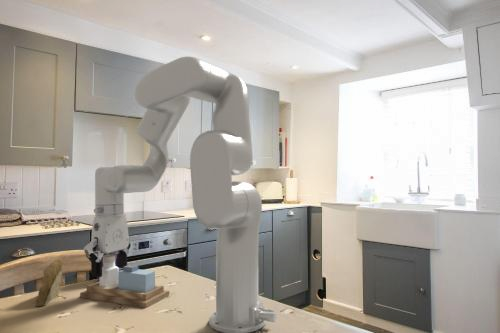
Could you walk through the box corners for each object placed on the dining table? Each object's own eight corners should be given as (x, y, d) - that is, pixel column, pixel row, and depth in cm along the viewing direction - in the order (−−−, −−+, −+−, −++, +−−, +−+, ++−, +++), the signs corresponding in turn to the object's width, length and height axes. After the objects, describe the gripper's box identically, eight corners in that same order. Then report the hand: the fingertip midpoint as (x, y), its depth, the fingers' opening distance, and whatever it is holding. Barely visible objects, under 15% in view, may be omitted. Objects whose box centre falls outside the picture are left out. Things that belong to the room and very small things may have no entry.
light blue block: (155, 293, 98) (155, 266, 98) (145, 298, 94) (145, 270, 94) (128, 289, 101) (128, 263, 101) (118, 293, 98) (118, 267, 98)
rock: (49, 300, 90) (78, 283, 99) (29, 272, 91) (61, 258, 100) (25, 321, 93) (56, 302, 103) (6, 294, 94) (39, 278, 103)
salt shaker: (98, 290, 101) (98, 256, 101) (111, 286, 104) (111, 253, 104) (106, 293, 98) (106, 257, 99) (119, 289, 102) (119, 255, 102)
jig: (169, 295, 100) (169, 285, 100) (146, 307, 90) (146, 296, 91) (107, 286, 108) (107, 277, 108) (80, 297, 99) (80, 286, 99)
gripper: (96, 214, 92) (96, 281, 92) (140, 208, 108) (141, 265, 108) (74, 213, 95) (74, 279, 95) (120, 208, 111) (121, 264, 111)
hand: (110, 271), depth 101 cm, fingers open, 9 cm apart
